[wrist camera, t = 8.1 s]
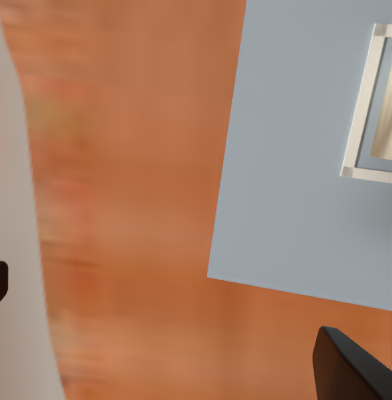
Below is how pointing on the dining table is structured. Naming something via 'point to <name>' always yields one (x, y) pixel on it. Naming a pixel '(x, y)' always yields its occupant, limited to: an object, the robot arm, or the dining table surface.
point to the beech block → (384, 126)
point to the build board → (308, 153)
